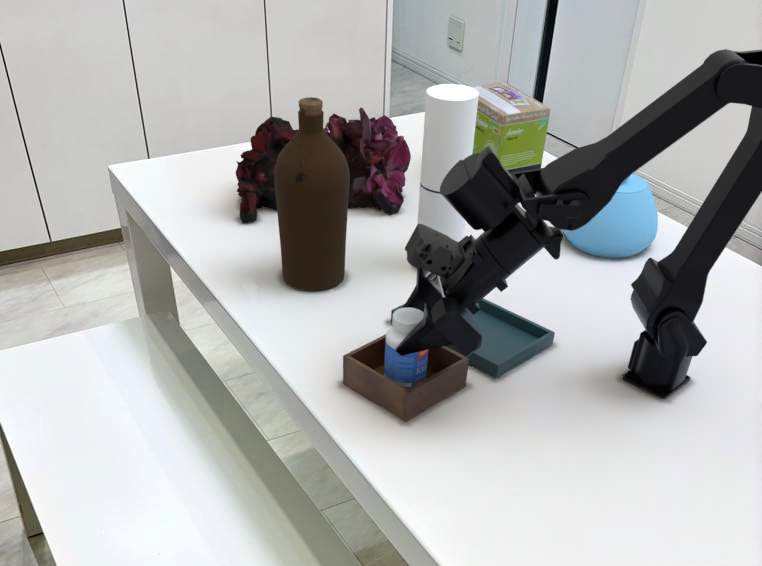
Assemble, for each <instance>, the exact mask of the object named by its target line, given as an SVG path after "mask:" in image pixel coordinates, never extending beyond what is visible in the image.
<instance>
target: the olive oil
mask: <svg viewBox="0 0 762 566" xmlns="http://www.w3.org/2000/svg"><path fill="white" fill-rule="evenodd" d="M323 104H324V103H323V100H322V99H321V98H318V97H313V96H309V97H302V98H300V99H299V100H298V108H299V109H298V111H297V116H298V132H297V133H296V134H295V136H294V137H293V138H292V139H291V140H290V141H289V142H288V143H287V145H286V146H285V147H284V148H283V149H282V151H281V152H280V154H279V155H278V158H277V161H276V164H275V169H274V184H275V194H276V203H277V210H276V211H277V224H278V233H279V245H280V246H279V247H280V258H281V260H280V261H281V270H282V271H281V272H282V279H283V282H285V283H286V284H287V285H289V287H292V288H293V289H295V290H296V289H297V290H300V291H306V292H320V291H326V290H330V289H333V288H336V287H338V286H339V285H340V284H341V283H342V282H343V281H344V280H345V273H346V271H345V270H346V249H347V248H346V246H347V230H348V211H349V209H348V198H349V184H350V172H349V167H348V164H347V160H346V158H345V156H344V154H343V152H342V151H341V150H340V148H339V147H338V146H337V145H336V144H335V143H334V142H333V141H332V140H331V139H330V137H329V136H328V135H327V134H326V133H325V131H324V113H325V112H324V111H323V106H324V105H323Z"/></svg>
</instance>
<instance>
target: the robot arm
mask: <svg viewBox="0 0 762 566" xmlns="http://www.w3.org/2000/svg"><path fill="white" fill-rule="evenodd" d="M730 104H738V105H746V106H750V107H751V109H750V113H749V118H748V124H747V129H746V132H745V133H744V135H743V137H742V138H741V141H739V144H738V145H737V147H736V149H735V151H734V152H733V153H732V155H731V157H730V159H729V160H728V162H727V163H726V165H725V167H724V168H723V170H722V171H721V173H720V175H719V176H718V178H717V179H716V181H715V183H714V184H713V186H712V188H711V189H710V191H709V193H708V194H707V196H706V197H705V199H704V201H703V202H702V204H701V206H700V207H699V209H698V210H697V212H696V214H695V215H694V217H693V219H692V220H691V221H690V223H689V225H688V226H687V228H686V230H685V232H684V233H683V235H682V236H681V238H680V239H679V241H678V243H677V245H676V246H675V248H674V249H673V250H672V252H671V253H669V254H668V255H666V256H665V257H663V258H662V259H660V260H659V261H657V260H656V259H654V258H652V257H649V258H648V259H646V261H645V263H644V265H643V267H642V270H641V272H640V274H639V276H637V277H636V279H635V280H634V281H632V282H631V283H630V287H631V288H632V289H633V290H632V292H631V295H630V303H631V307H632V309H633V311H634V313H635V314H636V316H637V318H638V319H639V321H640V323H641V325H642V327H643V328H644V330H643V331H641V332H640V334H639V337H638V339H636V340H635V341H634V342H633V346H632V348H631V353H630V356H629V360H628V364H627V371H626V372H625V373H623V374H622V378H621V379H622V380H623V381H625V382H627V383H629V384H631V385H633V386H635V387H637V388H640V389H641V390H643V391H646V392H647V393H650V394H652V395H654V396H656V397H657V398H660V399H663V400H664V399H667V398H669V397H671V395H673V394H674V393H676V392H677V391H679V390H680V389H682V388H683V387H684V386H685V385H687V384H688V383H689V382H690V381H691V377H690V375H687V374H688V371H689V368H690V365H691V362H692V360H693V357H698V356H699V355H700V353H701V352H702V351H703V349H704V348H705V347H706V345H707V343H708V341H707V339H706V338H705V336H704V335H703V333H702V331H700V329H699V327H698V326H697V324H696V323H695V319H696V317H697V315H698V313H699V311H700V309H701V307H702V304H703V302H704V297H705V293H706V288H707V282H708V277H709V274H710V272H711V270H712V269H713V267H714V266H715V264H716V263H717V261H718V259H719V258H720V257H721V255H722V254H723V252H724V251H725V249H726V247H727V246H728V244H729V243H730V242H731V240H732V238H733V237H734V235H735V234H736V232H737V230H738V229H739V227H740V226H741V225H742V223H743V221H744V220H745V218H746V217H747V216H748V214H749V213H750V211H751V210H752V208H753V206H754V205H755V203H756V202H757V200H758V199H759V197H760V196H761V194H762V49H754V50H753V49H752V50H743V51H737V50H731V49H727V48H725V49H719V50H716V51H714V52H712V53H711V54H709V55H708V56H707V57H706V58H705V59H704V61H703V63H702V64H701V65H700V66H698V67H697V68H696V69H694V70H693V71H691V72H690V73H689V74H687V76H685V77H683V78H682V79H681V80H680V81H678V82H677V83H676V84H674V85H673V86H672V87H671V88H669V89H668V90H667V91H665V92H664V93H662V94H661V95H660V96H659V97H657V98H656V99H655V100H653V101H652V102H651V103H649V104H648V105H647V106H645V107H644V108H643V109H641V110H640V111H639V112H637V113H636V114H635V115H633V116H632V117H631V118H630V119H628V120H626V121H625V122H624V123H623V124H622V125H620V126H619V127H618V128H617V129H615V130H614V131H612V132H611V133H610V134H608V135H607V136H605V137H604V138H601V139H600V140H598V141H596V142H594V143H590V144H586V145H583V146H579V147H577V148H574V149H572V150H570V151H569V152H566V153H565V154H563V155H561V156H559V157H558V158H555V159H554V160H553V161H551V162H549V163H547V164H546V165H545V166H544V167H541V168H539V169H532V170H526V171H519V172H512V173H509V172H508V171H507V169H506V168H505V167H504V166H503V165H502V164H501V162H500V161H499V159H498V157H497V155H496V153H495V152H494V151H493V150H492V148H491V147H490V146H487V147H486V148H485V149H484V150H483V151H482V152H481V153H475V154H472V155H470V156H468V157H467V158H465V159H464V160H460V161H458V162H457V163H456V164H455V165H454V166H453V167H452V168H451V170H450V171H449V172H448V173H447V175H446V176H445V178H444V179H443V181H442V183H441V186H440V193H441V195H442V196H443V197H444V198H445V199H446V200H447V201H448V202H449V203H450V204H451V205H452V207H453V208H454V209H455V210H456V211H457V212H458V213H459V214H460V215H461V216H462V217H463V219H464V220H465V223H467V224H468V225H469V226H470V227H471V229H472V230H475V231H479V230H482V231H483V232H482V233H481V234H480V235H479V236H478V237H476V238H475V237H474V235H472V234H470V235H464V237H463V239H462V240H461V241H459V242H457V241H455V240H453V239H451V238H450V237H448V236H447V235H445V234H443V233H440V232H438V231H436V230H434V229H432V228H430V227H428V226H425V225H423V224H416V226H415V228H414V230H413V232H412V233H411V236H410V237H409V239H408V241H407V242H406V245H405V247H404V251H405V252H406V261H407V263H408V264H409V265H411V266H412V267H414V268H416V282H415V286H414V288H413V290H412V292H411V294H410V295H409V297H408V298H407V300H406V302H405V303H404V304H405V305H404V306H403V308H416V309H419V310H421V311H422V312H424V317H423V319H422V320H421V321H420V322H419V323H418V324H417V326H416V327H415V328H414V329H413V330H412V331H411V332H410V333H409V334H408V335H407V336H406V337H405V338H404V339H403V340H402V342H401V343H400V344H399V345H398V346H397V348H396V352H397V353H398V354H399V355H401V356H403V355H407V354H411V353H415V352H420V351H424V350H428V349H432V348H438V347H444V346H450V345H454V346H456V347H457V348H458V349H459V350H460V351H461V352H462V353H463V354H464V355H465V356H466V357H469V356H470V355H471V354H473V353H474V352H475V351H476V350H478V349H479V348H480V347H481V343H482V334H481V331H480V327H479V324H478V321H477V320H476V319H475V318H474V317H473V316H472V315H471V314H470V313H469V312H468V311H467V310H466V308H467V309H468V310H469V311H470V312H471V313H472V314H473V315H474V314H475V313H477V312H478V311H479V310H480V307H479V304H478V302H479V301H480V300H481V299H483V298H484V299H485V297H487V296H488V295H489V294H490V293H491V292H492V291H494V290H495V289H496V288H497V290H498V291H499V292H500V293H503V291H505V290H506V289H507V288H509V285H508V282H507V279H508V278H509V277H511V275H513V274H515V272H516V271H518V270H519V269H520V268H521V267H522V266H524V265H525V264H526V263H527V262H528V261H530V260H531V259H532V258H533V257H534V256H536V255H537V254H538V253H539V252H541V251H542V250H543V249H545V250H546V251H547V253H548V254H549V255H550V256H551V258H553V260H559V259H560V257H561V248H562V242H563V239H564V236H565V234H563V233H564V232H563V230H570V231H574V230H577V229H579V228H581V227H583V226H585V225H586V224H587V223H589V222H590V221H591V220H592V219H593V218H594V217H595V216H596V215H597V214H598V213H599V212H600V211H601V210H602V209H603V208H604V207H605V206H606V205H607V204H608V203H609V202H610V201H611V200H612V198H613V196H614V195H615V193H616V192H617V190H618V189H619V187H620V186H621V184H622V183H623V182H624V181H625V180H626V179H627V178H628V177H629V176H630V175H631V174H635V172H636V171H638V170H640V169H641V168H642V167H644V166H645V165H646V164H648V163H649V162H650V161H652V160H653V159H655V158H656V157H658V156H659V155H660V154H661V153H663V152H665V150H667V149H669V148H670V147H671V146H672V145H673V144H675V143H677V142H678V141H679V140H681V139H682V138H684V137H685V136H686V135H688V134H689V133H691V132H692V131H693V130H694V129H696V128H697V127H699V126H700V125H701V124H703V123H704V122H706V121H707V120H708V119H709V118H711V117H712V116H714V115H715V114H716V113H717V112H719V111H720V110H722V109H723V108H725V107H726V106H727V105H730ZM519 204H520V205H519ZM546 222H549V223H550V224H551V225H552V226H549V225H548V224H547V223H546Z"/></svg>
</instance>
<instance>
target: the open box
mask: <svg viewBox="0 0 762 566" xmlns="http://www.w3.org/2000/svg"><path fill="white" fill-rule="evenodd" d="M385 342H386V333H385V334H383V335H381V336H378V337H377V338H375V339H374V340H370V341H369V342H367V343H365V344H363V345H362V346H359V347H358V348H355V349H353V350H351V351H349V352H348V353H345V354H344V355H342V385H344V386H345V387H347V388H349V389H351V390H352V391H353V392H355V393H357V394H358V395H361V396H362V397H364V398H366V399H367V400H369V401H371V402H372V403H374V404H375V405H377V406H378V407H380V408H381V409H383V410H385V411H386V412H388V413H390V414H391V415H394V416H395V417H397V418H398V419H400V420H402V421H403V422H405V423H407V422H408V421H410V420H412V419H414V418H415V417H417V416H418V415H421V414H422V413H424V412H426V411H427V410H429V409H431V408H433V407H434V406H436V405H438V404H439V403H441V402H442V401H444V400H446V399H448V398H449V397H451V396H453V395H454V394H456V393H458V392H459V391H461V390H463V389H464V388H466V387H467V380H468V374H469V373H468V371H469V365H470V364H469V358H467V357H465V356H463V355H461V354H459V353H458V352H456V351H454V350H452V349H450V348H448V347H446V346H444V347H438V348H432V349H428V360H427V371H426V379H425V380H424V381H422V382H420V383H418V384H417V385H415V386H413V387H411V388H409V389H408V390H407V389H406V388H404V387H402V386H401V385H399V384H397V383H396V382H394V381H392V380H390V379H389V378H387V377H385V376H384V362H385Z"/></svg>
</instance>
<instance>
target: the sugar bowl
mask: <svg viewBox="0 0 762 566" xmlns="http://www.w3.org/2000/svg"><path fill="white" fill-rule="evenodd" d="M658 215H659V214H658V209H657V205H656V200H655V198H654V194H653V193H652V189H651V187H650V185H649V183H648V182H647V180H646V179H645V178H643V177H641V176H640V175H637V174H635V173H633V174H631V175H630V176H629V177H628V178H627V179H626V180H625V181H624V182H623V183H622V184H621V186H620V187H619V189H618V190H617V192H616V193H615V195H614V196H613V198H612V200H611V201H610V202H609V203H608V204H607V205H606V206H605V207H604V208H603V209H602V210H601V211H600V212H599V213H598V214H597V215H596V216H595V217H594V218H593V219H592V220H591V221H590V222H589V223H587V224H586V225H585V226H583V227H581V228H579V229H577V230H574V231H570V230H562V232H563V233H564V236H565V237H566V239H568V241H569V242H570V244H571V245H572V246H573V247H575V248H576V249H577V250H579V251H581V252H583V253H586V254H589V255H591V256H596V257H601V258H610V259H611V258H612V259H620V258H628V257H632V256H636V255H638V254H639V253H641V252H642V251H644V250H645V249H646V248H648V247H649V246H651V245H652V243H653V242H654V241H655V239H656V237H657V233H658V227H659V225H658V224H659V216H658Z"/></svg>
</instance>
